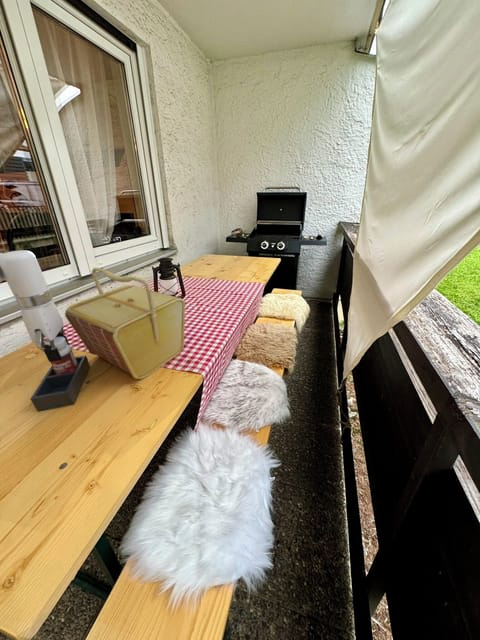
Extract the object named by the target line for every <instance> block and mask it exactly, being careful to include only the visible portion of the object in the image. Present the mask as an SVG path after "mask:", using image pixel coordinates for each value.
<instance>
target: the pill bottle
mask: <svg viewBox="0 0 480 640" xmlns="http://www.w3.org/2000/svg"><path fill="white" fill-rule="evenodd" d="M53 340H54V345H55V348H57V349H58V351H59V353H60V355H61V358H62V359H61V360H60V361H54V362H50V365H51V366H52V367H53V369H54V371H55V373H56V375H59V374H65V373H71V372H76V370H77V368H78V363H77V361H76V358H75V357H76V356H75V354H74V351H73V349H72V347H71V345H70V344H69V345H70V346H69V345H68V344H67V342H66V340H65V338H64V337H56V338H54V339H53ZM45 345H50V342H45Z"/></svg>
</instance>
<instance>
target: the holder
mask: <svg viewBox="0 0 480 640" xmlns="http://www.w3.org/2000/svg"><path fill="white" fill-rule="evenodd" d="M75 358H76V361H77V363H78V368H77V370H76V372H71V373H65V374H59V375H56V373H55V371H54V369H53V367H52V365H51V366H50V368H49V369H48V371H47V372H46V374H45V376H44V377H43V378H42V380H41V381H40V382H39V384H38V386H37V388H36V389H35V391H34V392H33V394H32V396H31V397H30V399H29V400H30V402H31V403H32V405H33V407H34V409H35V410H36V412H42V411H46V410H53V409H57V408H63V407H68V406H74V405H75V403H76V402H77V399H78V397H79V394H80V392H81V390H82V387H83V385H84V383H85V380H86V378H87V376H88V373H89V371H90V369H91V365H90V362H89V360H88V357H87V355H86V354H85V355H80V356H75Z"/></svg>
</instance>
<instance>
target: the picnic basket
mask: <svg viewBox="0 0 480 640" xmlns="http://www.w3.org/2000/svg"><path fill="white" fill-rule="evenodd" d="M97 272H99V273H102V274H103V275H104V276H105V277H106V278H109V279H110V280H112V281H115V282H118V283H130V282H132V281H133V282H138V283H141V284H142V285H143V286H144V287H141V286H137V285H134V284H125V285H122V286H120V287H117V288H114V289H111V290H108V291H105V292H103V288H102V286H101V283H100V280H99V278H98V275H97ZM91 275H92V278H93V281H94V283H95V286H96V289H97V291H98V294H96V295H94V296H92V297H91V296H90V297H89V298H86V299H83V300H80V301H78V302H75V303H72V304H70V305H69V306H67V307H66V309H65V311H64V316H65V318H66V320H67V321H68V323H69V325H70V326H71V327H72V329H73V330H74V331H75V333H76V334H77V336H78V338H79V339H80V340H81V342H82V343H83V345H84V346H85V347H86V349H87V350H88V352H89V353H90V354H91V355H95V356H98V357H100V358H101V359H103V360H105V361H106V362H108V363H110V364H112V365H113V366H116V367H117V368H119V369H121V370H123V371H124V372H125V373H128V374H129V375H131V376H132V378H134V379H135V380H142V379H145V378H147V377H148V376H150V375H151V374H153V373H154V372H155V371H157V370H158V369H160V368H161V367H163V366H164V365H166V364H167V363H168V362H170V361H171V360H173V359H174V358H176V357H177V356H178V355H180V353H181V352H182V351H183V348H184V347H185V346H184V345H185V327H186V326H185V323H186V302H185V300H184V299H183V298H181V297H177V296H173V295H169V294H167V293H163V292H158V291H155V290H153V289H152V287H151V285H150V283H149V282H148V281H147V280H146V279H144V278H141V277H137V276H121V275H117V274H115V273H113V272H111V271H108V270H106V269H104V268H100V267H93V268H92V270H91Z"/></svg>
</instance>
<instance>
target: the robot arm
mask: <svg viewBox="0 0 480 640" xmlns="http://www.w3.org/2000/svg"><path fill="white" fill-rule="evenodd" d="M4 281H6V283H7V285H8V287H9V289H10V290H11V293H12V295H13V297H14V299H15V301H16V303H17V306H18V307H19V309H20V313H21V317H22V321H23V323H24V326H25V329H26V331H27V333H28V335H29V338H30V340H31V342H32V343H33V344H35V348H36V349H38V350H40V351H42V352H43V353H44V354H45V356H46V359H47V361H48V362H49V363H51V362H54V361H60V360H61V359H62V358H61V355H60V353H59V351H58V349H57V348H55V345H54V340H53V339H54V338H56V337H64V338H65V340H66V342H67V344H68V345H69V346H70V347H71V345H70V343H69V340H68V337H67V335H66V332H65V330H64V321H63V318H62V316H61V314H60V312H59V310H58V307H57V305H56V304H55V301H54V297H53V294H52V293H51V290H50V288H49V286H48V283H47V281H46V278H45V276H44V273H43V271H42V269H41V267H40V264H39V262H38V259H37V258H36V255H35V254H34V253H33V252H32V251H30V250H26V249H25V250H23V249H20V250H12V251H7V252H0V283H2V282H4ZM45 338H46V339H45ZM46 342H50V345H45V343H46Z"/></svg>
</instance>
